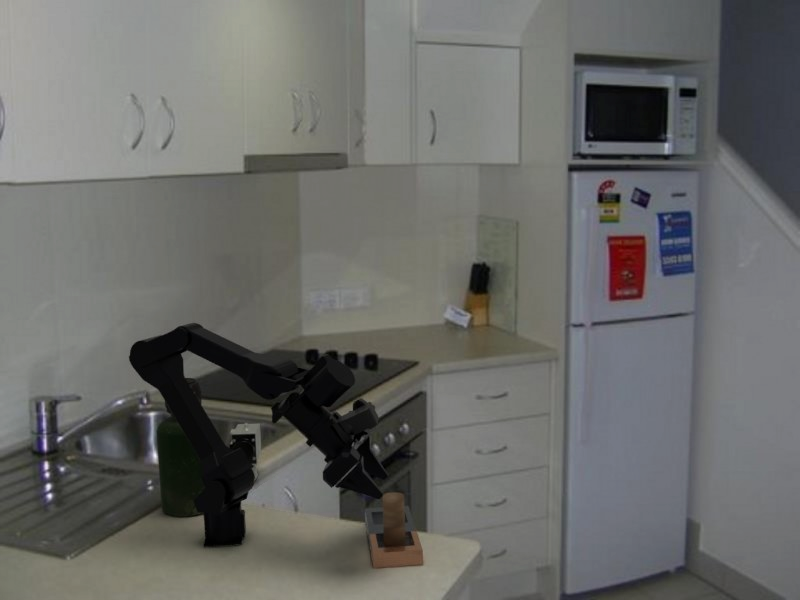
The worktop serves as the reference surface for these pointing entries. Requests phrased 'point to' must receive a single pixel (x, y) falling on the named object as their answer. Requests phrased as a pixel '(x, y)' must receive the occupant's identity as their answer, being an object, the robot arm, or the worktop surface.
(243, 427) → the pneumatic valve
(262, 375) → the robot arm
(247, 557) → the worktop surface
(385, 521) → the walnut peg
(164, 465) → the spray bottle
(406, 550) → the grey copper flat frame
